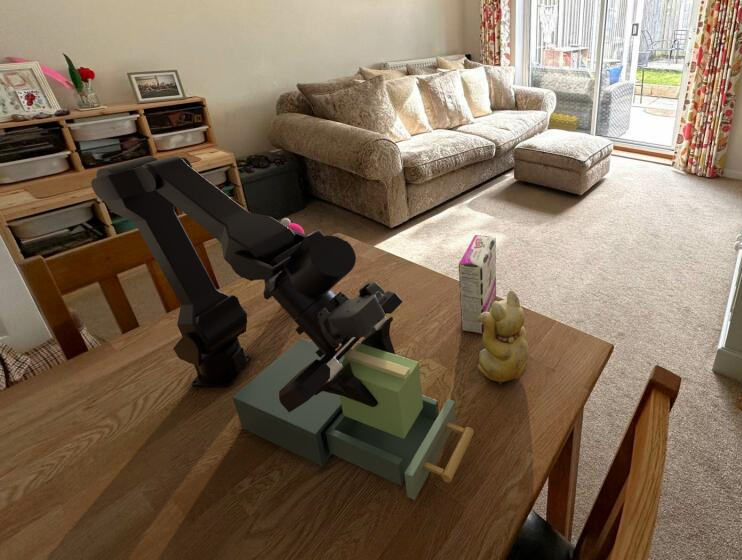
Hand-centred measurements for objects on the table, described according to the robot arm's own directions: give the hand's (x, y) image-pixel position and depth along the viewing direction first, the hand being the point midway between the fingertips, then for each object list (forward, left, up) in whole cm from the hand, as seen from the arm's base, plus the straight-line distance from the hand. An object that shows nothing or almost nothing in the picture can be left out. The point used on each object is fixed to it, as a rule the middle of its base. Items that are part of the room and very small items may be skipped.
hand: (388, 389), depth 56 cm
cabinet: (-14, +5, -11) cm, 19 cm away
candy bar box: (+10, +28, -11) cm, 32 cm away
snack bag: (-1, +1, -5) cm, 5 cm away
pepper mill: (-30, +32, -11) cm, 45 cm away
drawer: (+2, -1, -10) cm, 11 cm away
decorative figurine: (+16, +14, -11) cm, 24 cm away
